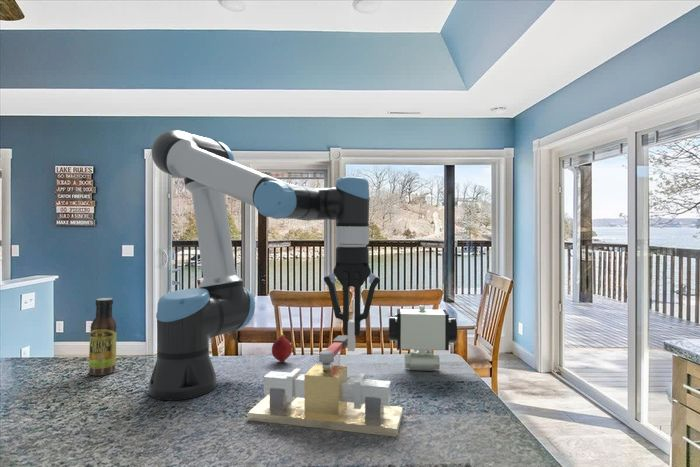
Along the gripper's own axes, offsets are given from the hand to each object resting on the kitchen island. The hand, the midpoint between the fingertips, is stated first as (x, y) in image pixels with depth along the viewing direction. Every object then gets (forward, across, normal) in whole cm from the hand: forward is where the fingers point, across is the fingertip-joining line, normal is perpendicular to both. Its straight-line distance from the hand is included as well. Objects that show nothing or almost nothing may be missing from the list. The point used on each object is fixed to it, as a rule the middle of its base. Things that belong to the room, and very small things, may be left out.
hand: (351, 349), depth 96 cm
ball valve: (+11, -18, -22) cm, 30 cm away
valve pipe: (+11, +4, +10) cm, 16 cm away
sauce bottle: (+12, +68, -11) cm, 70 cm away
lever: (0, +3, +4) cm, 5 cm away
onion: (+12, +22, -24) cm, 35 cm away
